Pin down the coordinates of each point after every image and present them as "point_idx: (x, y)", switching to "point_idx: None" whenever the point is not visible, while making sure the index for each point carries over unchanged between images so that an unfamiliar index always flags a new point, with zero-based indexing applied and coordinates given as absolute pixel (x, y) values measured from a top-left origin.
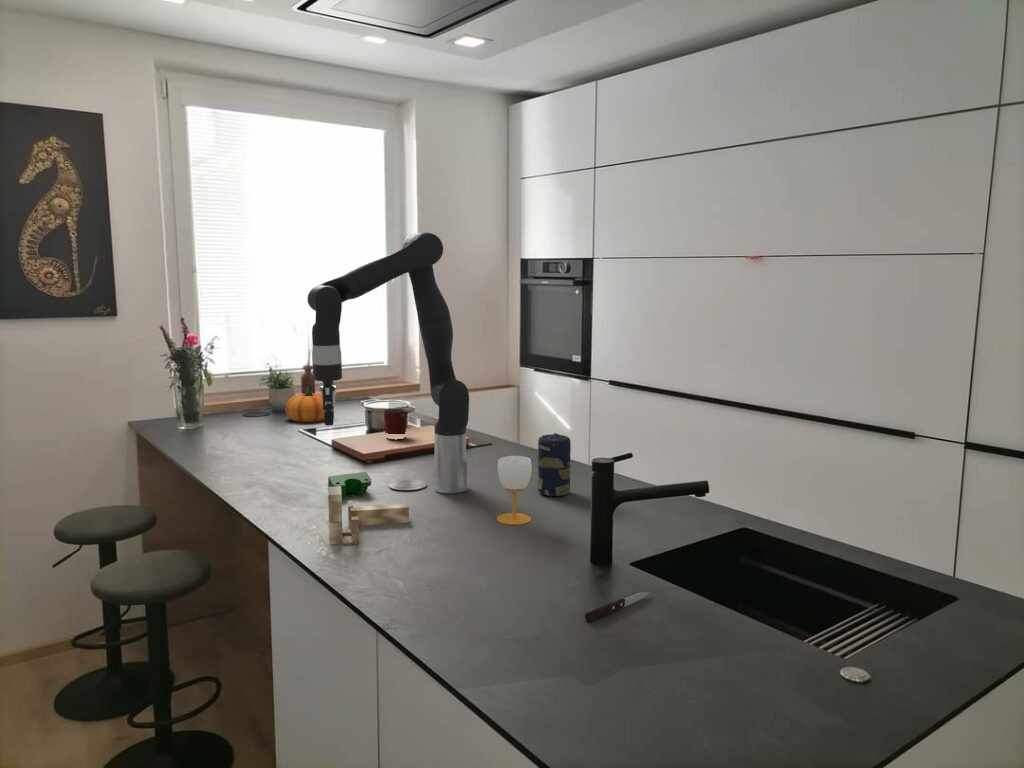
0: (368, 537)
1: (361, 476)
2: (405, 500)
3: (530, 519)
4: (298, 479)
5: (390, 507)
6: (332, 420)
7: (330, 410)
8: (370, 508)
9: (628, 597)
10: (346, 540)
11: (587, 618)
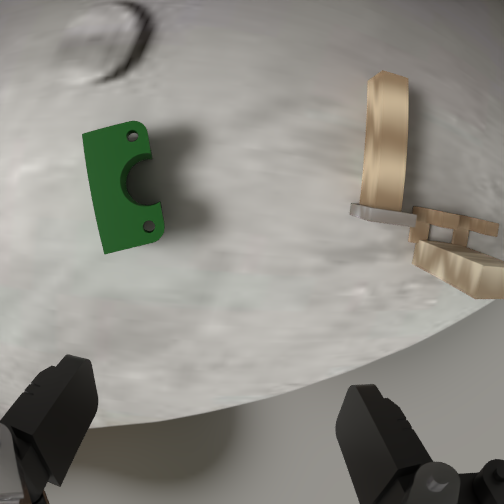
0: (448, 192)
1: (109, 150)
2: (224, 51)
3: None
4: (7, 297)
5: (400, 117)
6: (386, 408)
7: (460, 477)
8: (396, 166)
9: None
10: (461, 237)
11: None
